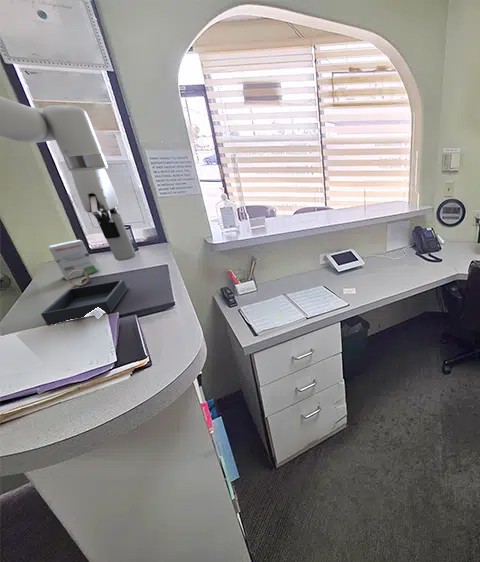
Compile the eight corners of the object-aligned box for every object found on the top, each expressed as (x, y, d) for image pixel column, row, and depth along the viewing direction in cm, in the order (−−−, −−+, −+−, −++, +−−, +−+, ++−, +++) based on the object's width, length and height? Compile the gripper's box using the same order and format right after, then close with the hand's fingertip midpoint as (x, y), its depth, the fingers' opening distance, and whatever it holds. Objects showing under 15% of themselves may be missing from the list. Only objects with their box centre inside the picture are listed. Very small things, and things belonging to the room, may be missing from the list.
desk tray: (47, 325, 78) (40, 314, 76) (74, 299, 91) (68, 288, 90) (111, 312, 82) (105, 301, 81) (127, 289, 96) (123, 279, 94)
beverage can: (122, 261, 83) (104, 217, 78) (111, 260, 85) (92, 217, 80) (140, 255, 87) (123, 213, 82) (129, 254, 89) (112, 213, 84)
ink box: (94, 269, 114) (79, 238, 109) (97, 272, 111) (83, 240, 106) (63, 277, 108) (46, 245, 103) (66, 280, 105) (49, 247, 100)
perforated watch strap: (91, 282, 102) (85, 268, 100) (73, 288, 99) (66, 274, 97) (88, 281, 104) (82, 267, 102) (70, 286, 100) (63, 272, 98)
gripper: (81, 163, 81) (109, 230, 89) (50, 166, 67) (87, 246, 75) (115, 161, 84) (140, 226, 92) (92, 163, 70) (124, 241, 77)
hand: (116, 234), depth 83 cm, fingers closed on beverage can, 4 cm apart
